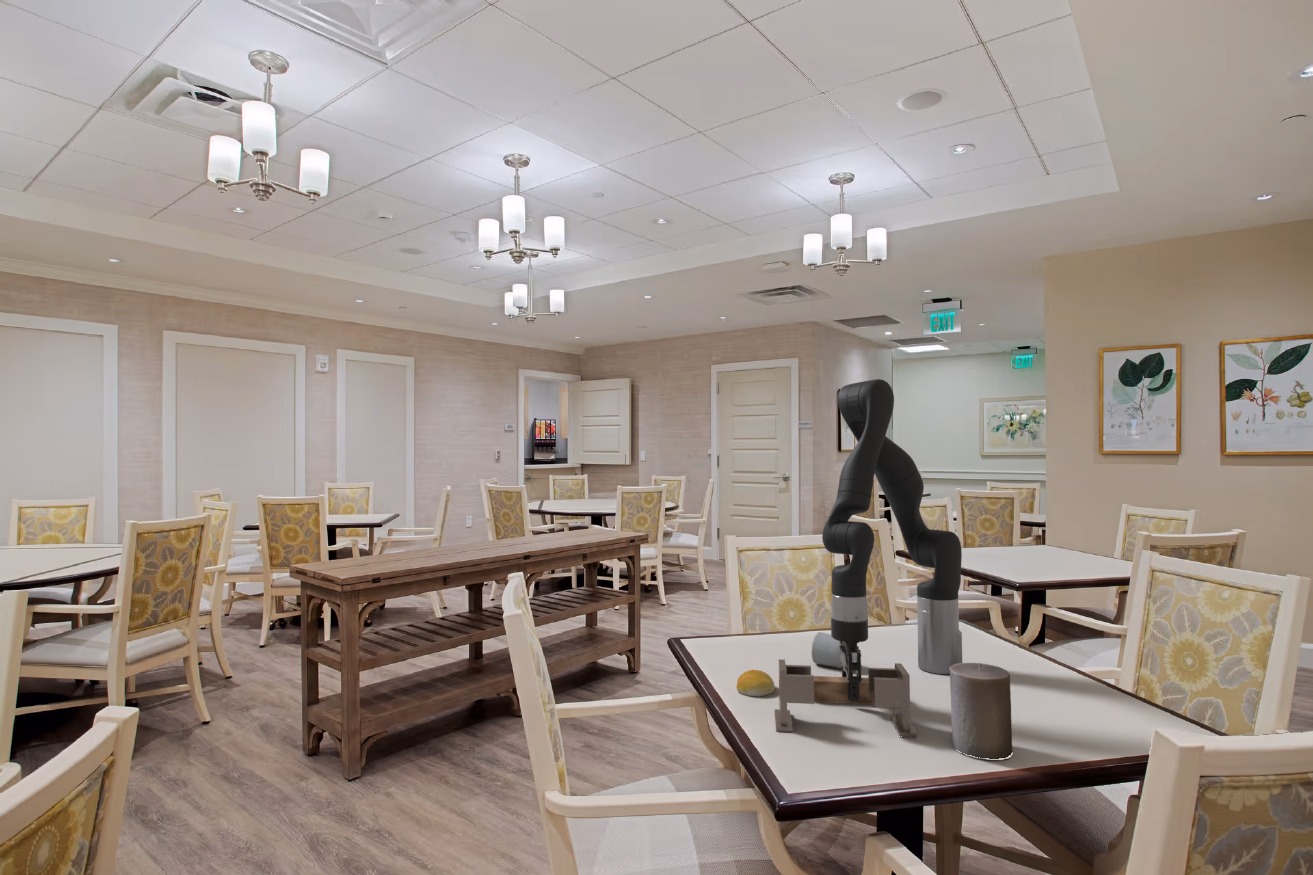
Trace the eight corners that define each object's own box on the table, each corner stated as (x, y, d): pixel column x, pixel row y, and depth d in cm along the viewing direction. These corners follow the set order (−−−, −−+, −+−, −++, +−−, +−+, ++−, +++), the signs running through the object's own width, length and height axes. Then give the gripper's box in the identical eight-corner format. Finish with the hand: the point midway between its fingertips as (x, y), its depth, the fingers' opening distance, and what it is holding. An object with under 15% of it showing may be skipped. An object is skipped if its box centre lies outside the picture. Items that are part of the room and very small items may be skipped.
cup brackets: (905, 719, 132) (904, 662, 133) (917, 737, 123) (915, 676, 124) (774, 713, 136) (773, 657, 136) (776, 731, 127) (775, 671, 127)
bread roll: (735, 696, 146) (735, 678, 146) (738, 683, 155) (738, 665, 155) (774, 699, 144) (774, 680, 145) (775, 685, 153) (774, 667, 153)
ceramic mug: (843, 672, 161) (843, 640, 161) (810, 666, 166) (810, 634, 166) (858, 662, 169) (858, 631, 170) (827, 657, 174) (827, 626, 175)
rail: (893, 700, 144) (892, 678, 144) (896, 706, 140) (896, 684, 140) (806, 696, 146) (806, 675, 146) (807, 702, 142) (807, 680, 143)
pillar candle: (1024, 752, 117) (1021, 664, 118) (992, 766, 112) (989, 674, 112) (971, 734, 125) (969, 652, 126) (939, 746, 120) (937, 660, 121)
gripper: (873, 624, 136) (875, 706, 135) (862, 608, 150) (863, 683, 150) (835, 623, 137) (836, 704, 136) (827, 608, 151) (828, 681, 151)
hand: (850, 693), depth 143 cm, fingers open, 8 cm apart
